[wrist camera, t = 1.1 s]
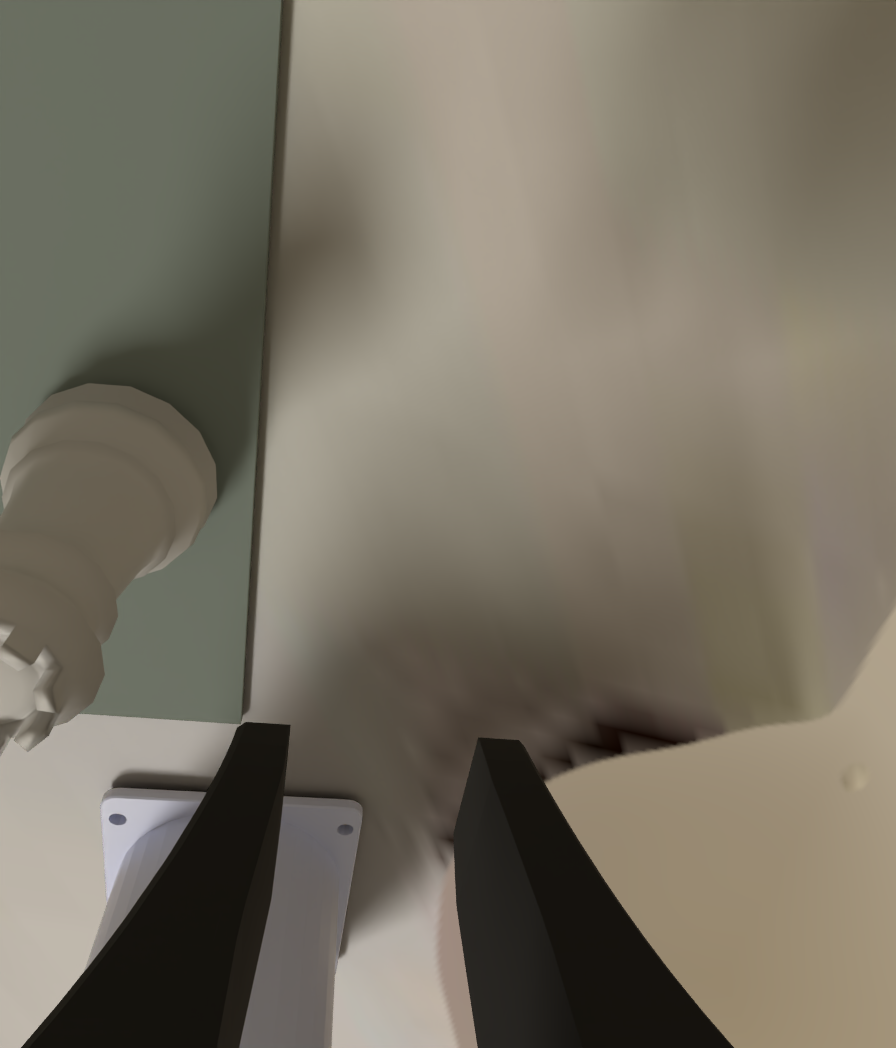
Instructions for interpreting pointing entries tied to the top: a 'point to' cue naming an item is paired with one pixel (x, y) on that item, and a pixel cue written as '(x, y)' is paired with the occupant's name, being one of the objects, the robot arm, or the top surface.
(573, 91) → the top surface
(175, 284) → the mat
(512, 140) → the top surface
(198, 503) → the rook chess piece
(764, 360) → the top surface
